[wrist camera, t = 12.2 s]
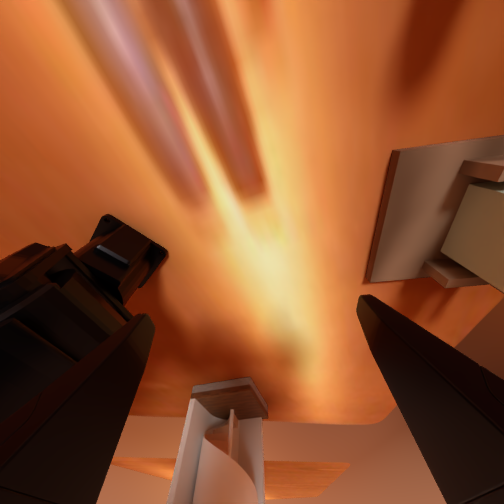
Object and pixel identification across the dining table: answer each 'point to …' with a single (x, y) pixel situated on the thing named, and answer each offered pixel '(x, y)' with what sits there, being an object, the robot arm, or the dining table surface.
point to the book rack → (429, 209)
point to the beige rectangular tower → (221, 446)
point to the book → (480, 233)
